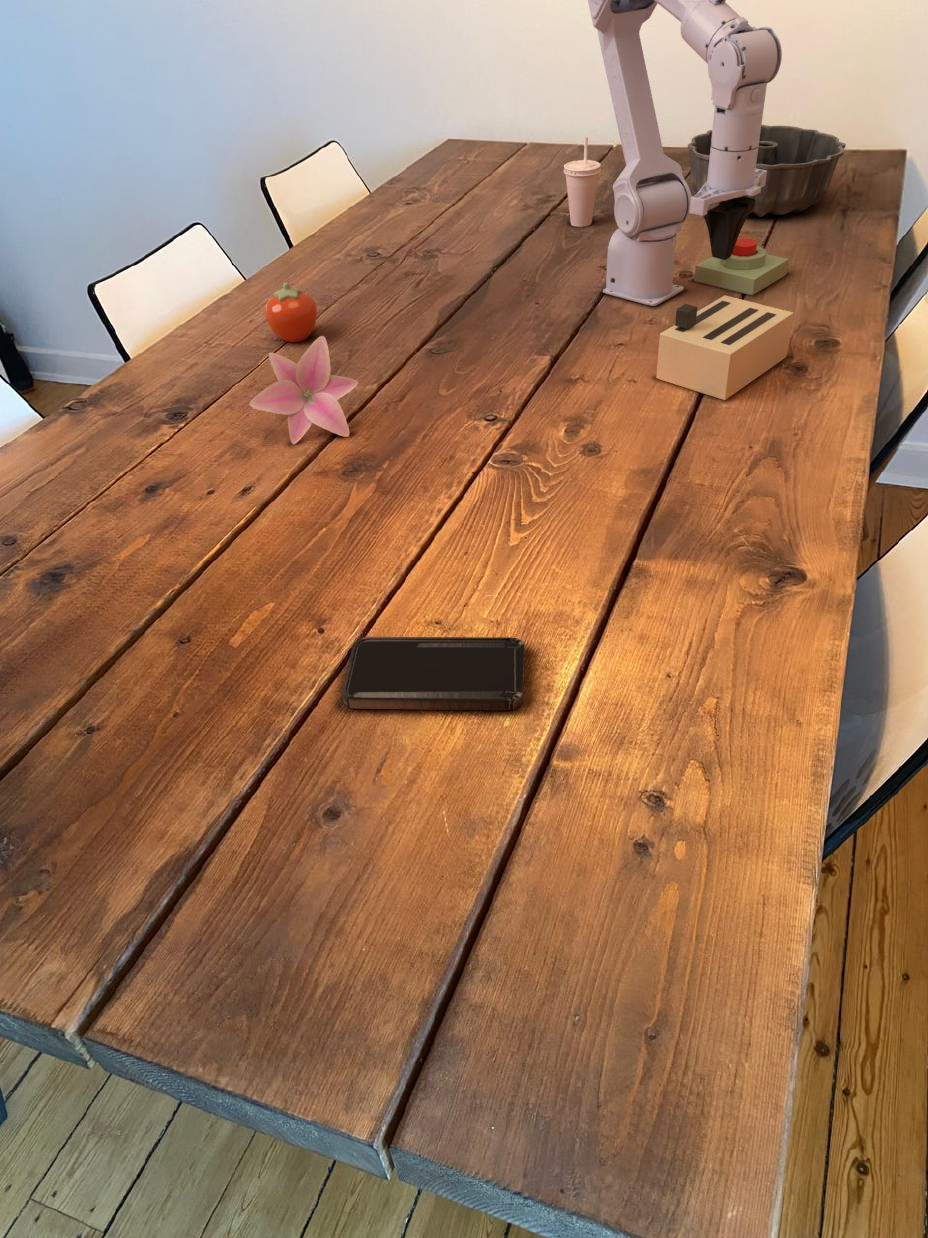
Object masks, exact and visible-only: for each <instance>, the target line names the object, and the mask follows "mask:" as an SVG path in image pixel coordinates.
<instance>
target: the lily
mask: <svg viewBox="0 0 928 1238" xmlns="http://www.w3.org/2000/svg"><path fill="white" fill-rule="evenodd" d="M268 359H269V362H270V366H271V368H272V371H273V373H274V375H275V377H276V379H277V381H275V382H273V383H272V384H270V385H268V386H267V387H266V388H264V389H263V390H262V391H260V392H258V394H257V395H255V396H254V397H253V398H252V399H251V400H250V401H249V406H250V407H251V408H252V409H255V410H257V411H263V412H267V413H273V414H278V415H283V416H284V415H285V416H287V427H288V434H289V440H290V443H291V444H292V445H296V444H297V443H298V442H299V441H300V440H301V439H302V438H303V437H304V435H305V434H306V433H307V432H308V431H309V429H310V428H311V426H312V425H313V424H314V425H316V426H318V427H319V428H321V429H324V430H326V431H328V432H331V433H333V434H336V435H338V436H340V437H345V438H346V437H347V438H348V437H349V436H350V428H349V424H348V422H347V419H346V416H345V413H344V410H343V408H342V406H341V404H340V403H339V401H338V400H339V399H341V398H343V397H345V396H346V395H347V394H349V393H351V391H353V390H354V389H355V388H356V387H357V386H358V385H359V383H360V382H359V381H358V380H357V379H354V378H351V377H347V376H343V375H342V376H341V375H336V374H335V375H334V374H331V358H330V351H329V345H328V341H327V339H326V337H325V336H324V335H320V336H319V337H317V338H316V339H315V340H314V341H313V342H312V343H311V344H310V346H308V347H307V349H306V350H305V352H304V353H303V354H302V355H301V357H300V358H299V360H298V362H297V363H296V362H295V361H293V360H291V359H289V358H287V357H285V356H283V355H280V354H278V353H276V352H268Z"/></svg>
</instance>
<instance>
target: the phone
mask: <svg viewBox="0 0 928 1238" xmlns="http://www.w3.org/2000/svg"><path fill="white" fill-rule="evenodd" d="M524 679H525V643H524V642H523V640H521V639H520V638H517V637H510V636H509V637H507V636H506V637H503V636H502V637H501V636H500V637H493V636H492V637H489V636H488V637H485V636H484V637H483V636H482V637H481V636H479V637H477V636H475V637H473V636H471V637H470V636H447V637H446V636H363V637H360V638H358V639H356V640H355V641H354V642H353V644H352V648H351V650H350V655H349V659H348V663H347V668H346V671H345V676H344V679H343V683H342V688H341V694H342V699H343V704H344V705H345V706H347V708H350V709H356V710H361V709H363V710H434V711H435V710H439V711H441V710H442V711H443V710H444V711H447V710H448V711H449V710H450V711H456V710H457V711H513V710H516V709H518V708H520V707H521V706H522V704H523V702H524V682H525V681H524Z"/></svg>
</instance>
